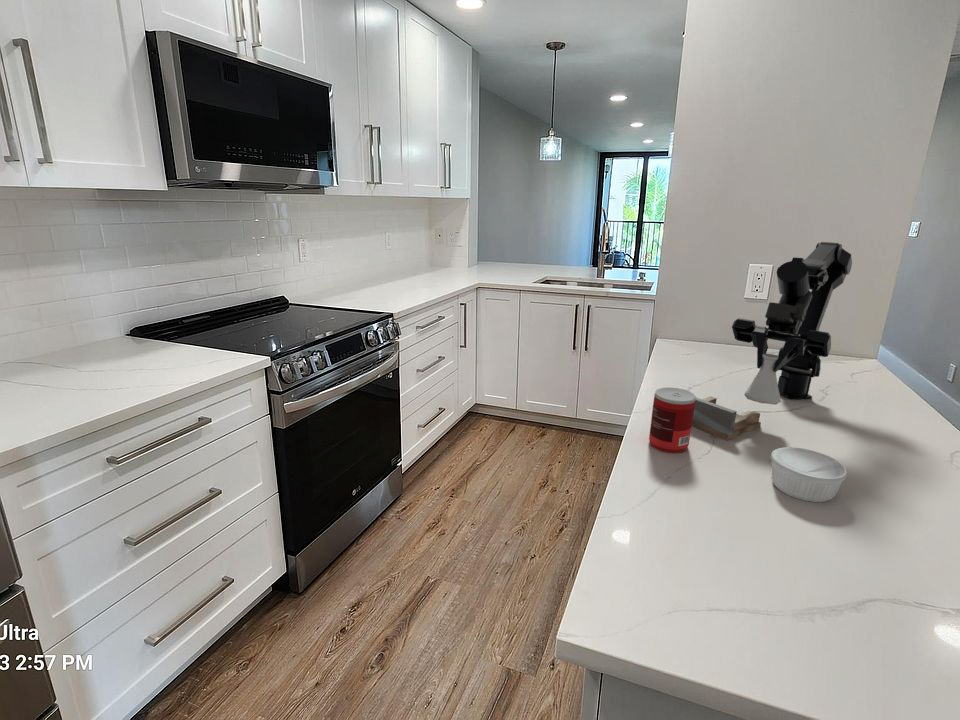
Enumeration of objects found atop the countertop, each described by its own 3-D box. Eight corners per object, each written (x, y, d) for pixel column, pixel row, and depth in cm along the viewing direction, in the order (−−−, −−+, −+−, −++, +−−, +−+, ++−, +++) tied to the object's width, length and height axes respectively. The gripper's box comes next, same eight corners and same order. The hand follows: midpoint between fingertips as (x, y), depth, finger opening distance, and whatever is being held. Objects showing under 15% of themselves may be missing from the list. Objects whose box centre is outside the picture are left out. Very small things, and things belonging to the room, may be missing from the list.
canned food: (687, 439, 110) (695, 390, 107) (688, 456, 103) (697, 403, 100) (649, 433, 113) (655, 384, 109) (647, 449, 105) (654, 398, 102)
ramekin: (841, 514, 85) (848, 485, 84) (763, 493, 91) (769, 465, 89) (839, 484, 94) (846, 457, 93) (768, 467, 100) (774, 441, 98)
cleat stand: (707, 407, 128) (710, 383, 126) (760, 426, 118) (765, 401, 116) (673, 418, 121) (676, 394, 119) (726, 440, 110) (731, 413, 109)
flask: (780, 408, 112) (789, 362, 109) (742, 400, 115) (750, 356, 112) (781, 397, 118) (790, 354, 115) (745, 391, 121) (753, 348, 118)
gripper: (741, 282, 118) (715, 340, 114) (839, 294, 106) (814, 359, 102) (748, 311, 126) (723, 366, 122) (840, 325, 114) (816, 387, 109)
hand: (766, 369), depth 113 cm, fingers closed on flask, 3 cm apart
